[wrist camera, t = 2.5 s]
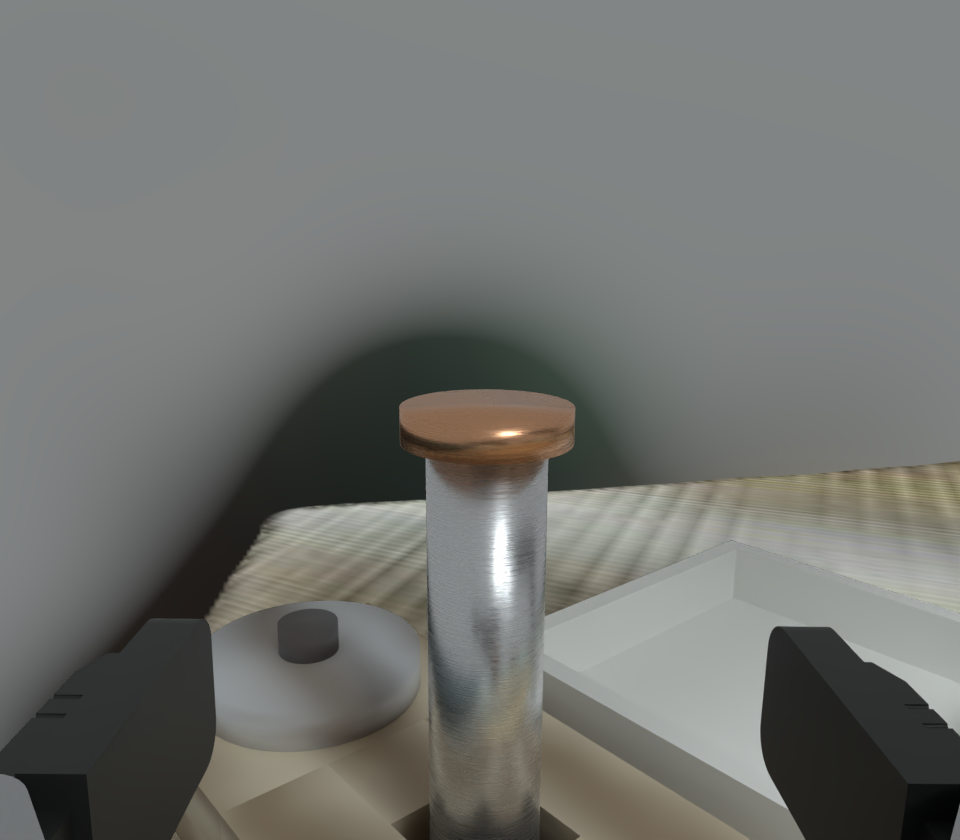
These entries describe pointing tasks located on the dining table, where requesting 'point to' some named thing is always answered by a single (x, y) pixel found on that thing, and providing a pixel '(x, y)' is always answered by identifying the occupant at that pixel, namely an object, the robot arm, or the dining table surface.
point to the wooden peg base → (379, 743)
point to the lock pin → (486, 601)
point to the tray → (725, 669)
